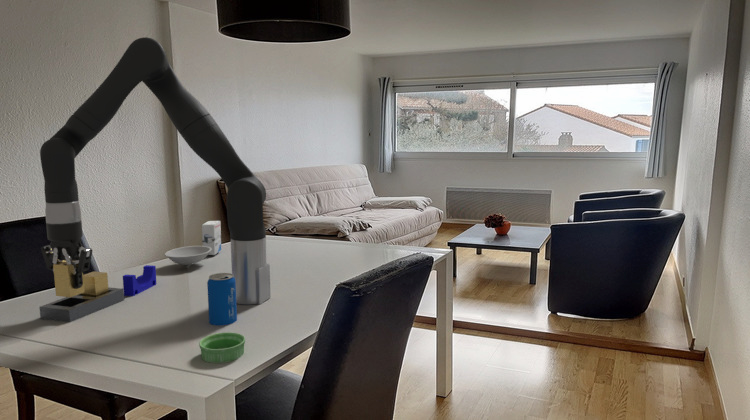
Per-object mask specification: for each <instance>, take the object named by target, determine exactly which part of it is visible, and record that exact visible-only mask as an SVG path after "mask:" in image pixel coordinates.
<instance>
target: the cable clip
mask: <svg viewBox="0 0 750 420" xmlns="http://www.w3.org/2000/svg"><path fill="white" fill-rule="evenodd" d="M136 276H137V275H136V274H124V275H122V285H123V286H122V287H123V288H122V289H123V292H124V297H125V296H126V297H135V296H136V295H138V294H141V293H144V291H146V290H149V289H151V288H152V287H154V286H156V284H158V282H157V270H156V265H147V264H146V265H144V266H143V271H142V274H141V275H139V276H137V277H136Z"/></svg>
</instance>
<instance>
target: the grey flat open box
mask: <svg viewBox="0 0 750 420" xmlns="http://www.w3.org/2000/svg"><path fill="white" fill-rule="evenodd" d="M108 289H109V293H106V294H103V295H101V296H98V297H88V296H82V293H81V294H78V295H75V296H73V297H63V298H60V299H57V300H54V301H51V302H49V303H46V304H43V305H41V306H40V305H39V315H40V316H39V317H40V318H39V319H40V320H44V319H46V320H47V321H53V320H54V322H65V323H71V322H74V321H77V320H79V319H82V318H84V317H87V316H90V315H92V314H94V313H98V312H99V311H101V310H105V309H106V308H109V307H112V306H114V305H117V304H119V303H122V302H123V301H125V296H124V289H123V288H118V287H109V286H108ZM46 320H45V321H46Z"/></svg>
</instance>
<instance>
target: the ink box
mask: <svg viewBox="0 0 750 420" xmlns="http://www.w3.org/2000/svg"><path fill="white" fill-rule="evenodd" d="M221 226H222V225H221V220H208V221H206V222H205V223H203V224H201V237H202V238H201V239H202V240H201V244H202V245H201V246H207V247H211V248H212V250H211V251H210V252H209V254H208V255H207V256H215V255H217V254H218V253H219V252H221V250H222V233H221V232H222V230H221Z"/></svg>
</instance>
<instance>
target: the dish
mask: <svg viewBox="0 0 750 420" xmlns="http://www.w3.org/2000/svg"><path fill="white" fill-rule="evenodd" d="M211 250H212V248H211V247H207V246H202V245H187V246H180V247H176V248H173V249H170V250H168V251H165V253H164V256H165V257H167V258H168V259H169V260H170V261H171V262H173V263H175V264H178V265H186V266H188V267H189V266H193V265H194V264H196V263H199V262H201V261H203V260H204V259H205V258H206V257H208V256H209V255H208V254H209V252H210V251H211Z"/></svg>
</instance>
